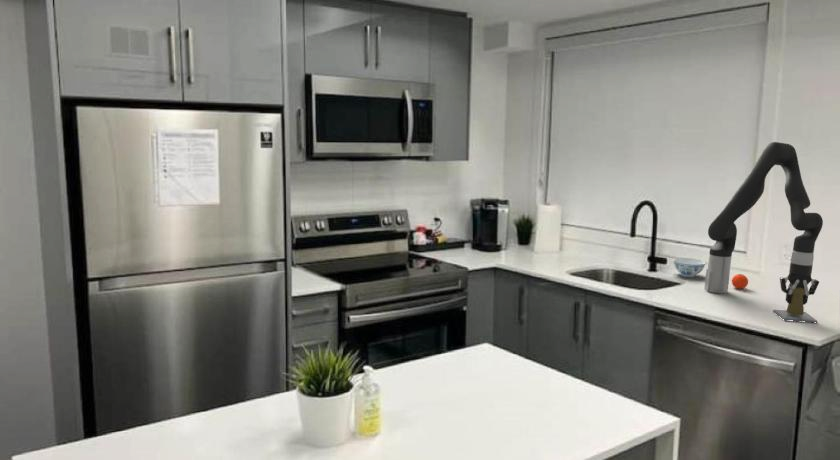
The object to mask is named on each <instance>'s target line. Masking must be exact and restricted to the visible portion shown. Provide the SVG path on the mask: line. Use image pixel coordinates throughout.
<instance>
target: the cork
mask: <svg viewBox="0 0 840 460" xmlns="http://www.w3.org/2000/svg"><path fill="white" fill-rule="evenodd" d="M804 294H805V289H804V288H801V287H796V288H795V290H793V292H792V294H791V295H792V298H791V303H788V304H787V308H786V310H787V311H786V312H787V313H789V314H793V315H803V314H804V312H805V311H804V310H805V309H804V305H803V295H804Z"/></svg>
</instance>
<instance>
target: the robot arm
mask: <svg viewBox="0 0 840 460" xmlns="http://www.w3.org/2000/svg"><path fill="white" fill-rule="evenodd" d="M799 165H800V164H799V160H798V153H797V150H796V149H795V147H794V146H793V145H792V144H789V143H784V142H778V141H772V142H769V143H768V144H767V145H766V146H765V147H764V149H762V151H761V154H760V155H759V156H758V158H757V160H756V162H755V163H754V165H753V167H752V169H751V170H750V172H749V174H748V175H747V176H746V177H745V178H744V180H743V182H742V183H741V184H740V186H739V187H738V189H737V190H736V191H735V193H734V194H733V196H732V197H731V199H730V200H729V201H728V203H727V204H726V205H725V207H724V208H723V210H722V211H721V212H720V213H719V214H718V216H716V218H715V219H714V220H713V221H712V222H711V223H710V225H709V226H708V230H707V235H708V237H709V238H710V239H711V240H712V241H715V243H714V244H713V245H712V246H711V247H710V248H709V254H708V255H709V256H708V263H707V265H708V266H707V268H706V270H705V279H704V289H705V290H706V292H709V293H713V294H714V293H715V294H727V293H728V291H729V284H730V274H731V263H732V255H733V252H734V250H735V247H736V242H737V233H738V229H737V225H736V224H735V222H736V220H738V219H739V218H740V217H741V216H742V215H744V214H746V213H747V212H748V211H749V210H751V209H752V208H753V207H754V206H755V205H756V204H757V202H758V201H759V199H761V197H762V195H763V194H764V191H765V184H766V178H767V176H768V174H769V173H770V171H771V170H772V168H773V167H774V166H780V167H781V168H782V170H783V172H784V175H785V183H784V184H785V185H784V192H785V197H786V199H787V201H788V202H787V203H788V205H789V208H790V222H791V226H792V227H793V228H794V229H795V230H796V231H801V232H802V231H803V233H802V234H800V235H798V236H795V237H794V239H793V247H792V253H791V256H790V264H789V271H788V275H787V276H786V277H783V276H781V277H779V282H780V284H779V285H780V289H781V292H783V293H784V294H785V302H786V303H788V304H789V303H791V298H792V295H791V294H792V292H793V290H795V288H796V287H801V288H804V289H805V294H804V295H803V306H805V305H806V304H807V303H808V298H809V296H811V295H812V296H813V295H815V293H816V290H817V288H818V286H819V283H820V281H819V280H817V279H813V278H812V273H813V272H812V271H813V265H814V257H815V256H814V252H815V246H816V245H815V244H816V241H817V239H818V238H819V234H820V233H821V231H822V228H823V226H824V225H823V224H824V221H823V218H822V215H821V214H820V213H817V212H805V210H806V209H808V208H809V207H810V206H811V199H810V197H809V195H808V193H807V190H806V187H805V185H804V183H803V182H804V181H803V178H802V173H801V170H800V166H799ZM787 282H789V284H788V287H787ZM809 284H811V285H810V287H809V288H808V285H809Z"/></svg>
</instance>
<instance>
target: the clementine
mask: <svg viewBox="0 0 840 460" xmlns="http://www.w3.org/2000/svg"><path fill="white" fill-rule="evenodd" d="M731 285H732V286H733V287H734V288H736V289H737V290H742V289H745V288H746V287H748V285H749V279H748V277H747V276H746V275H745V274H743V273H738V274H735V275H734V276H733V277H732V279H731Z"/></svg>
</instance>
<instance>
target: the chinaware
mask: <svg viewBox="0 0 840 460" xmlns="http://www.w3.org/2000/svg"><path fill="white" fill-rule="evenodd" d="M672 260H673V264H674V268H675V269H676V271H677V272H678V273H680V276H682V277H685V278H695V277H696V275H698V274H700V273H701V272H702V271H703V270H704V268H705V266H706V264H707V263H706V261H704V260H701V259H697V258H690V257H675V258H673V259H672Z"/></svg>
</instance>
